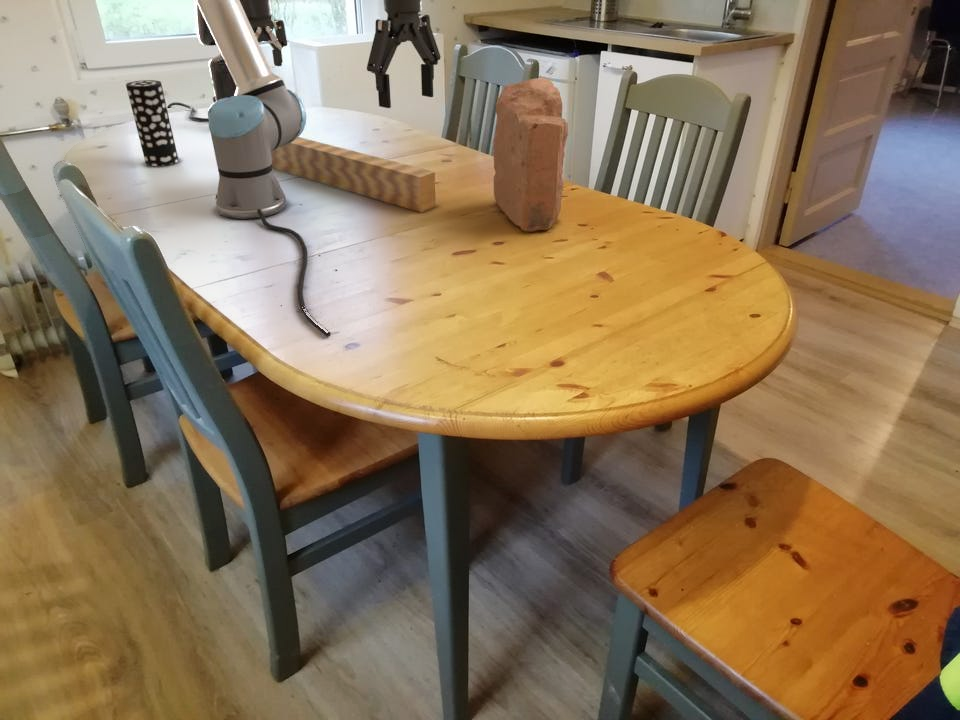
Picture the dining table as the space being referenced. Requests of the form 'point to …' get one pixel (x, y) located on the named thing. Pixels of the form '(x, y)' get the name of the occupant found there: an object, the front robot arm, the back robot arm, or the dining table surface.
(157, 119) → the black white spotted cylinder
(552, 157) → the stone
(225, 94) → the back robot arm
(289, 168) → the beam
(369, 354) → the dining table surface
